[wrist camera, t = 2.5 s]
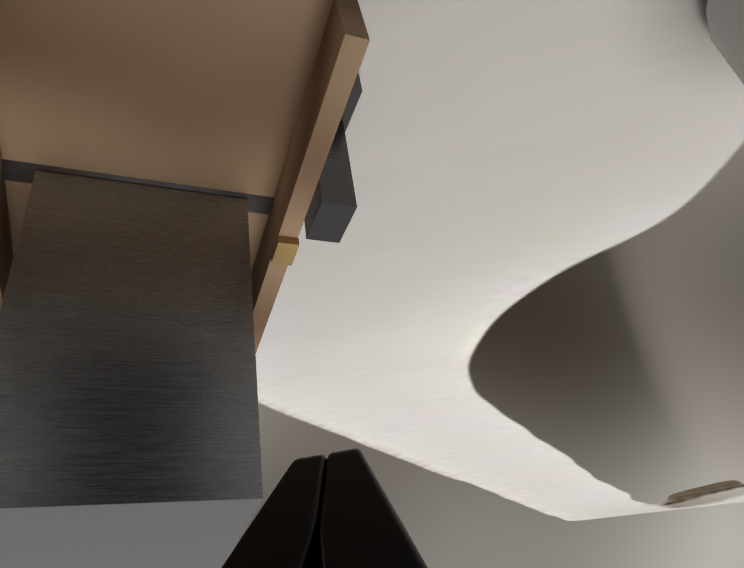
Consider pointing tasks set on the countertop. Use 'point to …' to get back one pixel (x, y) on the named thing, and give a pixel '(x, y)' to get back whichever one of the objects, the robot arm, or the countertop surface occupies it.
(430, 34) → the countertop surface
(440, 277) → the countertop surface
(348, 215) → the stand
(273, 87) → the beam
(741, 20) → the can
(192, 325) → the steel block
